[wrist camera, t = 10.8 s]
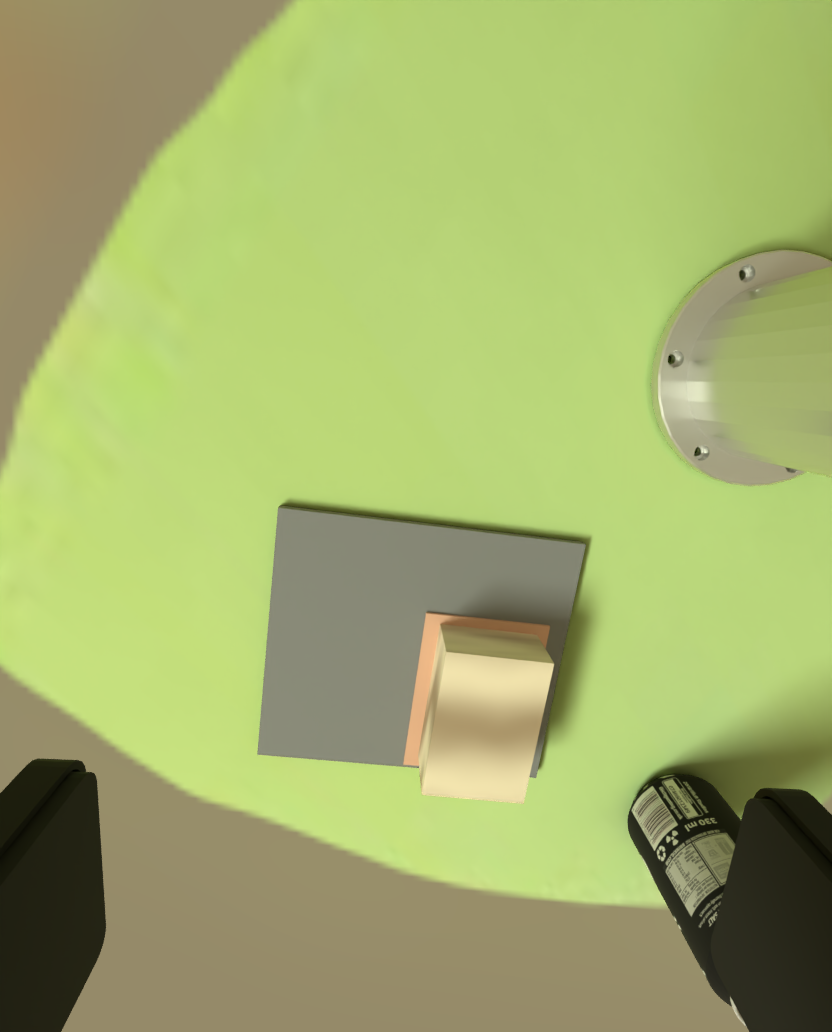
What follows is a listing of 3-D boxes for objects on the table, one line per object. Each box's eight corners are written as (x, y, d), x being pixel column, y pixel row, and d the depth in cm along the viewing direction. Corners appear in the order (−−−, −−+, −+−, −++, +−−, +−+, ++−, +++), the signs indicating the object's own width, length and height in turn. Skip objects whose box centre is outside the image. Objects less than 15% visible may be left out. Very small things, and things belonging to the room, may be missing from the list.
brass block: (510, 763, 36) (523, 803, 33) (418, 754, 36) (421, 794, 32) (537, 634, 34) (554, 663, 31) (440, 623, 34) (446, 651, 30)
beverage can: (701, 852, 40) (832, 1046, 28) (612, 844, 39) (708, 1038, 28) (727, 771, 39) (876, 942, 27) (635, 762, 38) (746, 932, 26)
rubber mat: (582, 541, 34) (587, 545, 33) (533, 771, 38) (536, 779, 37) (280, 505, 33) (277, 508, 32) (259, 748, 36) (256, 756, 35)
